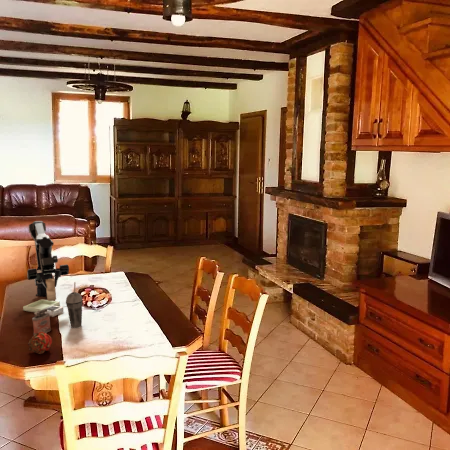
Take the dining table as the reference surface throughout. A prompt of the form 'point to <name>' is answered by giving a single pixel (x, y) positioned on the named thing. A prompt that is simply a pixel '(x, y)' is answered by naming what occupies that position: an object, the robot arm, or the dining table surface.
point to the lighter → (41, 321)
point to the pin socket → (54, 310)
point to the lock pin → (51, 289)
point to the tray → (40, 305)
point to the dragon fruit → (40, 343)
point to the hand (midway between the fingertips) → (51, 287)
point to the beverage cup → (74, 308)
